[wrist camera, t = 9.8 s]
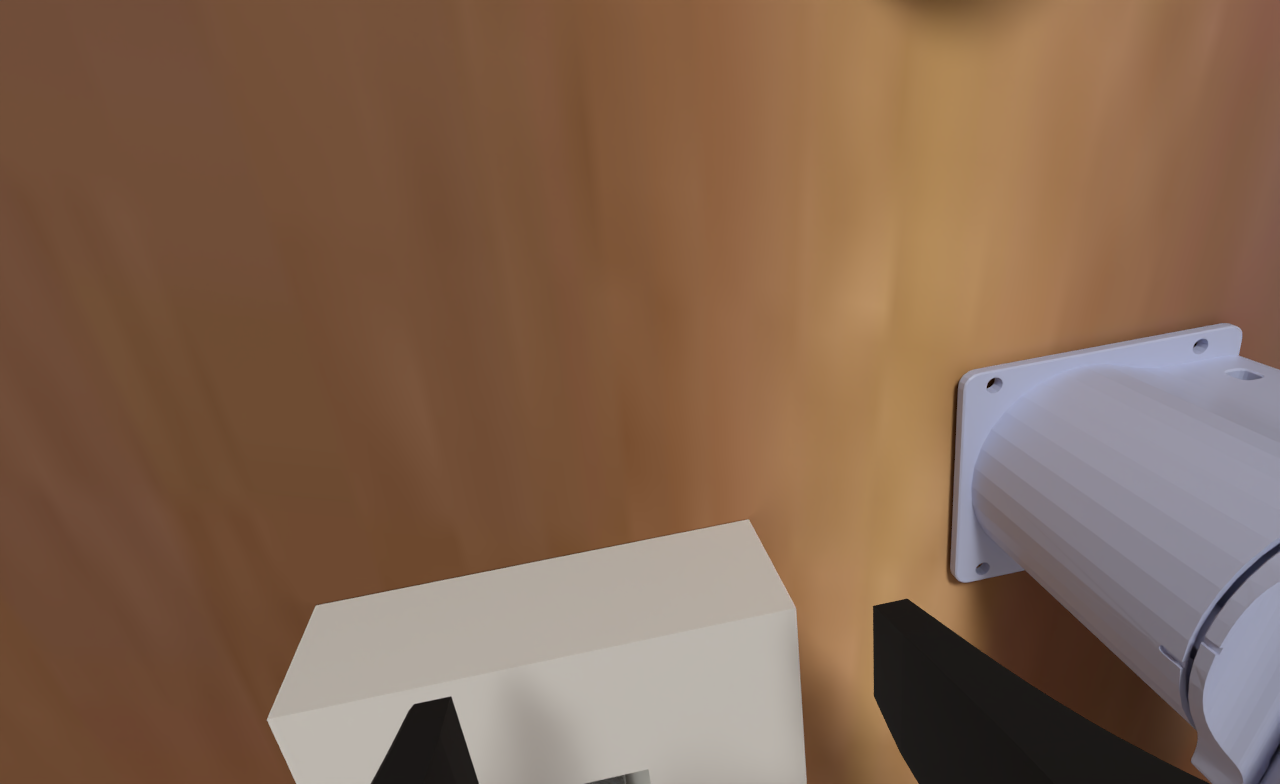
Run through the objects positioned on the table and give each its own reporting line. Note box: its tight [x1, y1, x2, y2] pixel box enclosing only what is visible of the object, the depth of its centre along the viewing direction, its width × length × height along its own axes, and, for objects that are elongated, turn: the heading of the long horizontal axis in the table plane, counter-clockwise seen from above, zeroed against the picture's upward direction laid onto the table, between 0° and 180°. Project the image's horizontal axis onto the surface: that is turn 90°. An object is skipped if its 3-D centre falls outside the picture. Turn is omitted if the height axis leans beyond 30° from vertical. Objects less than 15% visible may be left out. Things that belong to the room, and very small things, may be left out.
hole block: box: [267, 519, 807, 784], centre depth 23 cm, size 14×14×4 cm
